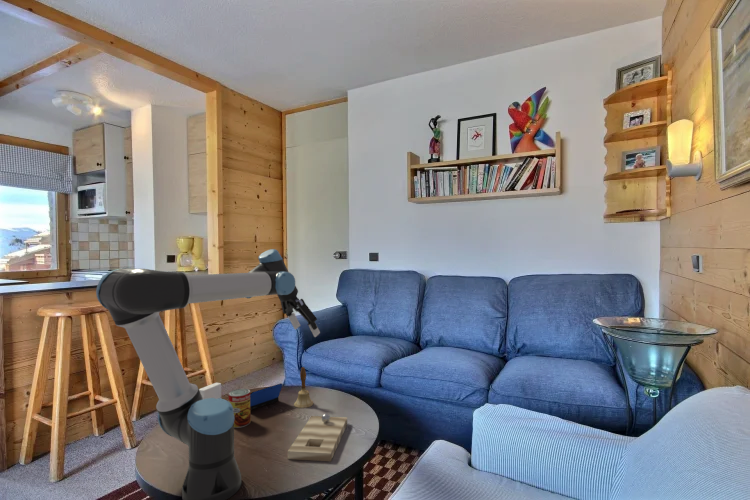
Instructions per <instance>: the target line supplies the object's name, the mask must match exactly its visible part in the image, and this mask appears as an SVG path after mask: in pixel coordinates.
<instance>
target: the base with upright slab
mask: <svg viewBox="0 0 750 500" xmlns="http://www.w3.org/2000/svg"><path fill="white" fill-rule="evenodd" d="M198 389H199V391H200V393H201V395H202V398H203V399H207V398H215V399H218V398H221V399H223V398H222V383H221V382H214V383H211V384H209V385H206V386H203V387H201V388H198Z"/></svg>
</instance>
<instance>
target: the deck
mask: <svg viewBox="0 0 750 500" xmlns="http://www.w3.org/2000/svg"><path fill="white" fill-rule="evenodd" d="M321 418H322V415H321V416H318V415H317V416H316V415H311V416H310V417H309V418H308V421H307V422H306V423H305V425H304V426H303V428H302V430H300V432H299V433H298V435H297V437H296V438H295V440H294V441H293V443H292V444H291V445H290V447H289V448H288V450H287V460H297V461H315V462H317V461H319V462H332V460H333V457H334V455H335V453H336V451H337V448H338V446H339V444H340V442H341V440H342V437H343V435H344V432H345V430H346V428H347V426H348V417H346V416H330V421H329V422H328V423H324V422H323V421H322V419H321Z"/></svg>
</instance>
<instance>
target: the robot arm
mask: <svg viewBox="0 0 750 500" xmlns="http://www.w3.org/2000/svg"><path fill="white" fill-rule="evenodd" d="M258 262H259V263H258V264H257V265H256V266H255V267H253V268H252V269H251V270H250V271H248V272H238V273H236V272H235V273H233V272H231V273H216V274H215V273H211V274H209V273H208V274H192V275H190V274H188V275H187V274H186V273H185V272H183V271H162V270H157V269H156V270H154V269H148V268H133V267H122V268H117V269H113V270H111V271H109V272H107V273H106V274H104V275H103V276H102V277H101V279H100V280H99V281H98V283H97V285H96V288H95V289H96V291H95V294H96V299H97V301H98V303H99V304H100V305H101V306H102V308H105V309H106V310H108V312H109V314H110V316H111V317H112V320H113V323H114V324H115V325H116V326H117V327H120V328H123V329H124V330H125V331H126V333H127V335H128V337H129V340H130V342H131V343H132V344H131V345H133V348H134V350H135V352H136V355H137V357H138V358H139V360H140V362H141V365H142V367H143V369H144V371H145V373H146V375H147V377H148V379H149V381H150V384H151V385H152V387H153V390H154V391H155V393H156V395H157V398H158V401H157V403H156V405H155V408H156V411H157V412H158V413H157V421H158V425H159V427H160V428H161V429H162V431H163V432H164V433H165V434H166V435H168V436H170V437H171V438H174V439H176V440H178V441H179V442H181V443H183V444H185V445H186V446H187V447H188V468H187V471H186V473H185V478H184V479H183V480H184V481H183V484H182V487H181V499H182V500H228V499H230V498H231V497H233V496H234V495H236V494H237V492H239V490H240V488H241V486H242V474H241V473H242V472H241V471H240V467H239V465H238V463H237V460H236V457H235V428H234V412H233V407H232V405H231V403H230V402H229V400H226V399H224V398H222V397H221V398H222V399H221V398H218V399H215V398H207V399H203V398H202V395H201V393H200V391H199V389H200V388H199V387H198V385H197V384H195V383H191V382H190V381H189V378H188V376H187V374H186V371H185V370H184V367H183V365H182V363H181V361H180V358H179V356H178V354H177V351H176V349H175V347H174V345H173V342H172V340H171V338H170V336H169V334H168V331H167V329H166V327H165V325H164V324H165V323H163V320H162V318H161V315H160V312H166V311H170V310H171V311H172V310H178V309H185V308H186V307H187V306H188V304H189V305H190V304H198V303H206V302H216V301H218V302H219V301H226V300H236V299H242V298H243V299H244V298H245V299H251V298H253V297H254V298H255V297H261V296H263V297H264V296H274V295H276V296H277V297H278V299H279V301H280V305H281V309H282V313H283V315H285V316H287V317H288V320H289V321H290V324H291V326H292V327H293V329H294V330H295V331H296V330H297V329H298V328H300V327H301V324H300V322H299V321H300V320H299V319H298V317H297V316H296V314H295V312H296V313H297V312H298V314H299V315H301V316H302V318H303V319H304V320H305V321H306V322H307V326H308V327H309V330H310V331H311V333H312V336H313V337H314V338H316V337H318V336H319V335H320V334H321V331H320V329H319V327H318V325H317V323H316V321H317V320H318V318H317V317H316V315H315V314H314V312H313V311H312V310H311V309H310V307H309V306H308V305H307V304H306V302H305V300H304V299H303V298H300V299H299V297H297V296H298V293H299V290H298V287H297V286H296V278H295V276H294V275H293V273H291V272H289V269H288V268H287V266H286V264H285V261H284V258H283V257H282V256H281V253H280V252H279V251H278V250H277V249H275V248H270V249H267V250H265V251H264V252H262V253H260V254H259V255H258Z"/></svg>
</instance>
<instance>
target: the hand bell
mask: <svg viewBox="0 0 750 500" xmlns="http://www.w3.org/2000/svg"><path fill="white" fill-rule="evenodd" d="M306 371H307V370H306V368H305V366H303V367H301V368H300V372H299V376H300V377H299V378H300V380H301V390H299V391H298V393H297V399H296V401H295V402H294V403H293V406H294V407H295V408H297V409H305V408H306V409H307V408H311V407H312V406H313V405H314V401H313V400H312V399H311V396H310V392H309V390H307V389H306V388H307V387H306V379H307V372H306Z"/></svg>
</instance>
